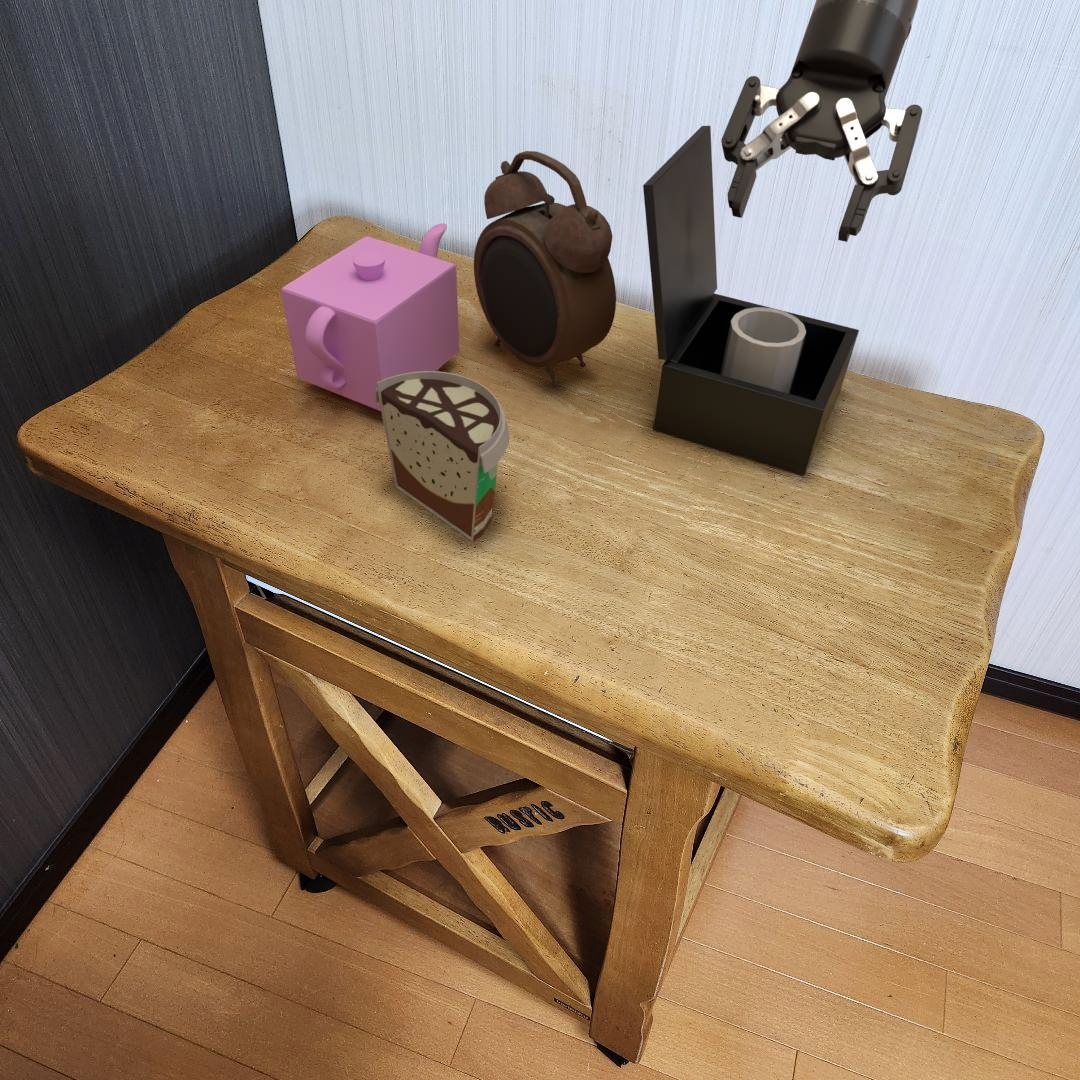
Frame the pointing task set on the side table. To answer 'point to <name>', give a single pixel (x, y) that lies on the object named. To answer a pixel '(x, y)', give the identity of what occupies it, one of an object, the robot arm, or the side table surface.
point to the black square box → (751, 391)
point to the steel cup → (764, 348)
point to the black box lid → (681, 239)
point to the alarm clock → (544, 268)
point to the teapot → (373, 316)
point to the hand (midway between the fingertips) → (788, 225)
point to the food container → (444, 444)
